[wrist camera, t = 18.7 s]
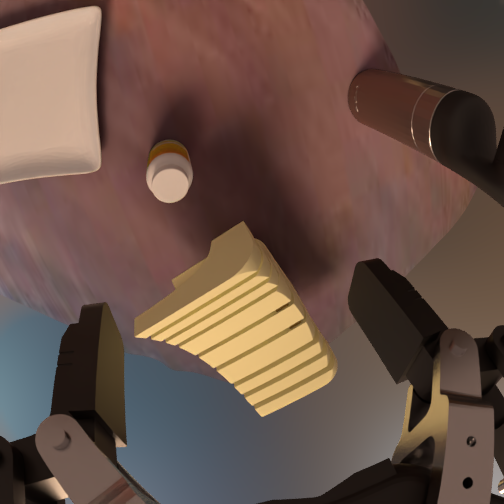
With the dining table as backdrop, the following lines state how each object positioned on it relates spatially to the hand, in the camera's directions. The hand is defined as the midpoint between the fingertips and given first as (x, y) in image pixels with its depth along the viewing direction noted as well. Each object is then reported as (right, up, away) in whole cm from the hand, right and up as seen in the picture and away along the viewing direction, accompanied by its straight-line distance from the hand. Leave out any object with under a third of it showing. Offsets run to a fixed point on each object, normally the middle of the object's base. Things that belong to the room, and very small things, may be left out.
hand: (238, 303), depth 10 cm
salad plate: (-28, +21, +20) cm, 40 cm away
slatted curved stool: (-3, -3, +44) cm, 45 cm away
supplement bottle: (-11, +14, +30) cm, 35 cm away
